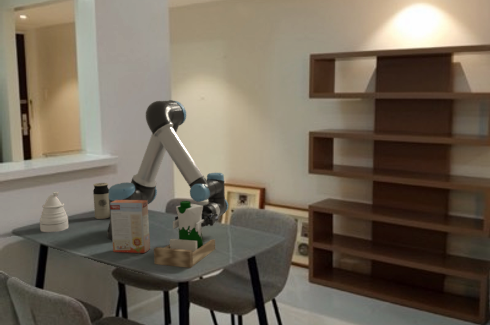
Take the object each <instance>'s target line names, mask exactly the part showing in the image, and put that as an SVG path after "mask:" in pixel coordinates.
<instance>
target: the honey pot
mask: <svg viewBox="0 0 490 325" xmlns="http://www.w3.org/2000/svg"><path fill="white" fill-rule="evenodd" d="M59 192H60V191H54V192H52V194H50V195H49V196H48V197H47V199H46V201H45V203H44V204H43V205H42V211H41V215H40V218H39V227H40V232H43V233H54V232H55V233H56V232H61V231H65V230H67V229H69V216H68V215H67V212H66V210H65V208H64V206H65V203H64V202H61V201H60V199H59V198H58V195H59Z"/></svg>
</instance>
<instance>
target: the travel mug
mask: <svg viewBox="0 0 490 325" xmlns="http://www.w3.org/2000/svg"><path fill="white" fill-rule="evenodd" d="M108 185H109V183H108V182H97V183H93V188H94V189H93V190H92V192H93V194H92V195H93V207H94V218H95V219H98V220H106V219H110V208H109V197H108V195H109V187H108Z"/></svg>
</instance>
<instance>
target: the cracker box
mask: <svg viewBox="0 0 490 325" xmlns="http://www.w3.org/2000/svg"><path fill="white" fill-rule="evenodd" d="M148 206H149V204H148V203H147V200H115V201H113V202H111V203H110V208H111V224H112V239H111V240H112V250H113V252H114V253H129V254H130V253H133V254H134V253H135V254H145V253H147V252H148V251H149V250H151V241H150V238H151V237H150V224H149V221H150V220H149V207H148Z"/></svg>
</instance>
